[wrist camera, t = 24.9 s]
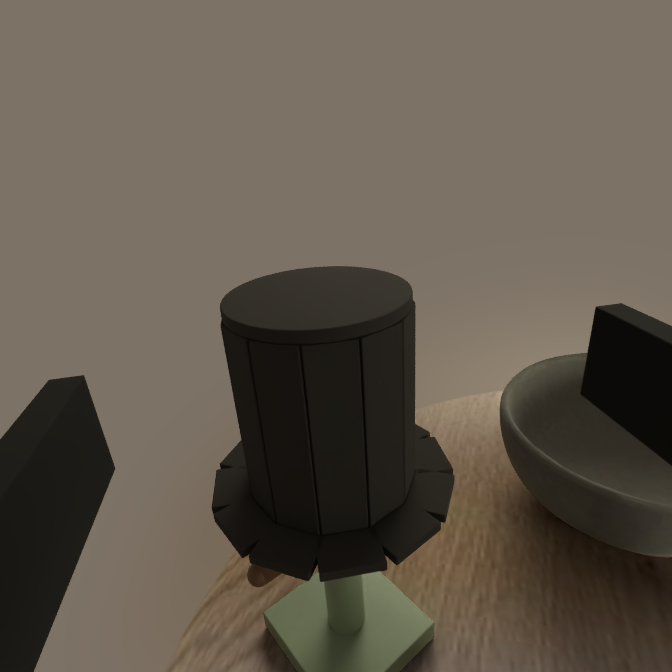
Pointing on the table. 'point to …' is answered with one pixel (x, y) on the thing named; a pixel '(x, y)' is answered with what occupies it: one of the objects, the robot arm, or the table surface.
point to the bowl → (585, 460)
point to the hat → (327, 425)
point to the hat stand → (345, 623)
